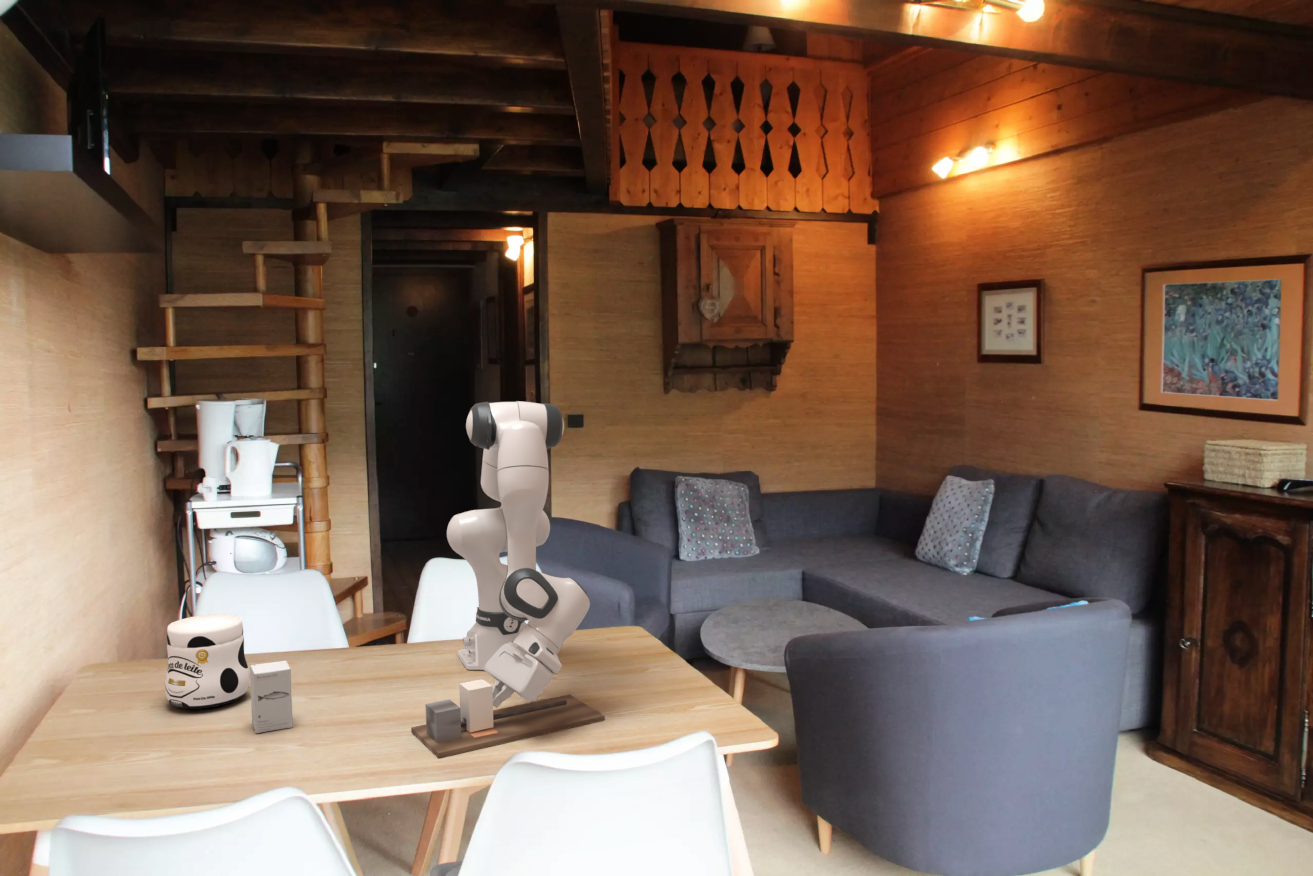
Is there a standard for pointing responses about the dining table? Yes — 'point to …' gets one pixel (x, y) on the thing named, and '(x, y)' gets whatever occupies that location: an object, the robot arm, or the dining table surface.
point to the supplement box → (271, 696)
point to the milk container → (206, 661)
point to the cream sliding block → (476, 705)
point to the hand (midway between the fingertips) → (491, 704)
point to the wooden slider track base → (500, 724)
